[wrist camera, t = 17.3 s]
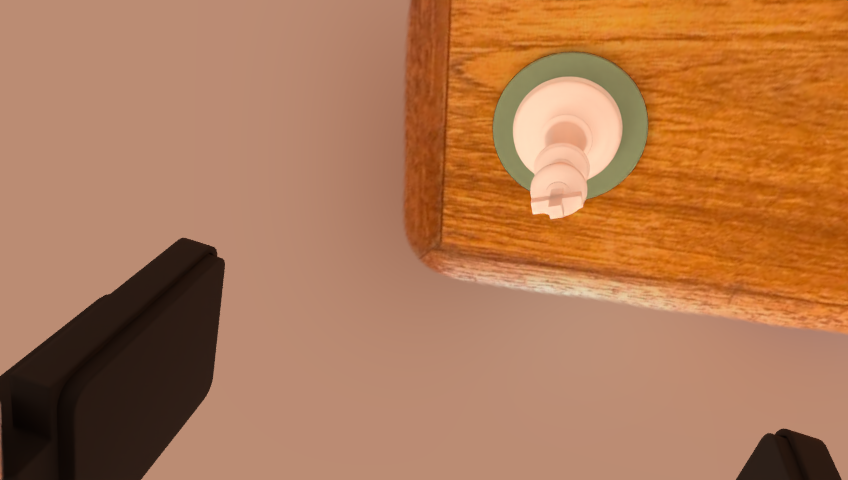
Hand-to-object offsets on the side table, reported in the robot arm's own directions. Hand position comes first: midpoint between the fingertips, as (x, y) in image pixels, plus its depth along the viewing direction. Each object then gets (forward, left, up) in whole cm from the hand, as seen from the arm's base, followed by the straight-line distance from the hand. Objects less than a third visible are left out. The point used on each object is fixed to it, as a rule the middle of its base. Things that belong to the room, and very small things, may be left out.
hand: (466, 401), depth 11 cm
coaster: (+1, -1, -22) cm, 22 cm away
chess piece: (+1, -1, -22) cm, 22 cm away
